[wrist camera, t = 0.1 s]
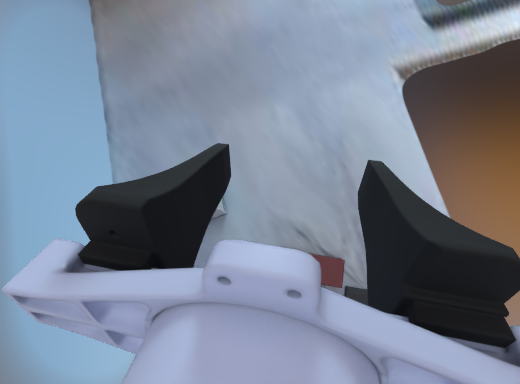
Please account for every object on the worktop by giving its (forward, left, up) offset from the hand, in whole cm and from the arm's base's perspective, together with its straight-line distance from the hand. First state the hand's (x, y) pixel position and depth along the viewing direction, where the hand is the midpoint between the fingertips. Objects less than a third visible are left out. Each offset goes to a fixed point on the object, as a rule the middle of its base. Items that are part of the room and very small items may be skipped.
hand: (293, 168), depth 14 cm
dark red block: (-8, -3, -32) cm, 33 cm away
